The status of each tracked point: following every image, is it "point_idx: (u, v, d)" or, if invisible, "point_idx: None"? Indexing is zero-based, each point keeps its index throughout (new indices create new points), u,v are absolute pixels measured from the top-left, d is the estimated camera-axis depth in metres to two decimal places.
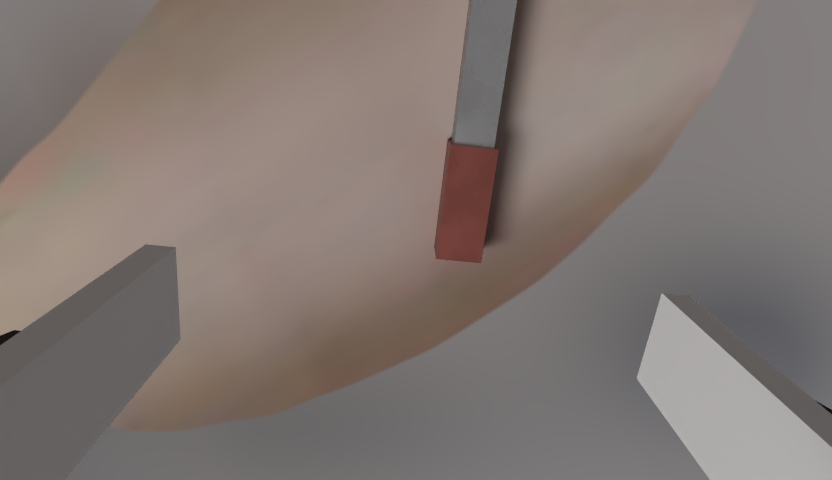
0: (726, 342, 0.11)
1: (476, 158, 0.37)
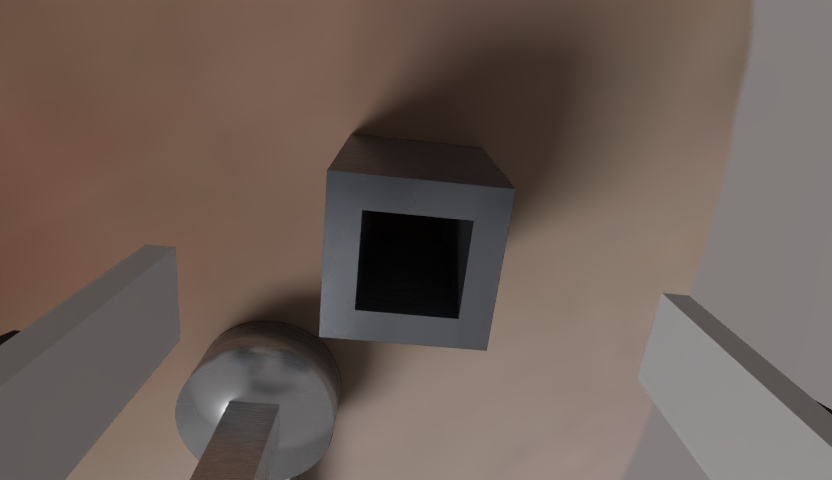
0: (726, 342, 0.11)
1: None
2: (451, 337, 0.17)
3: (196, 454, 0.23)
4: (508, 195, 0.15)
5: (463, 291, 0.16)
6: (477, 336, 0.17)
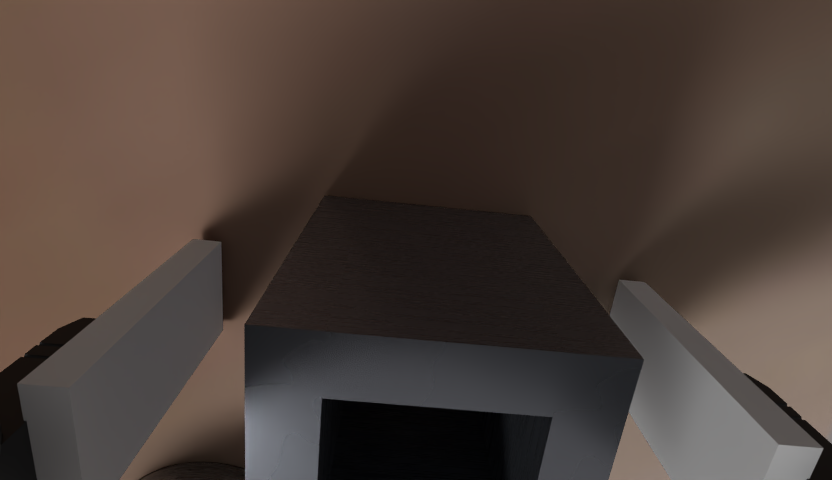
0: (671, 323, 0.12)
1: None
2: None
3: None
4: (627, 370, 0.07)
5: None
6: None
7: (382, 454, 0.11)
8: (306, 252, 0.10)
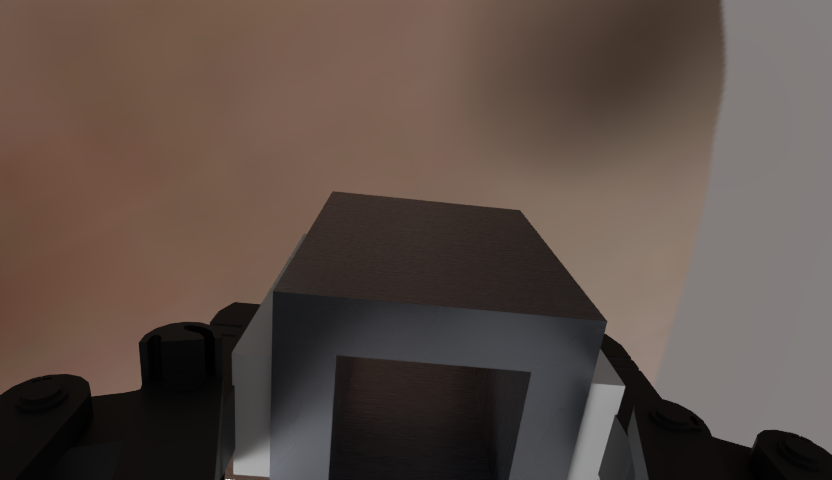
0: None
1: None
2: None
3: None
4: (593, 331, 0.09)
5: (509, 479, 0.10)
6: None
7: (385, 420, 0.12)
8: (319, 237, 0.11)
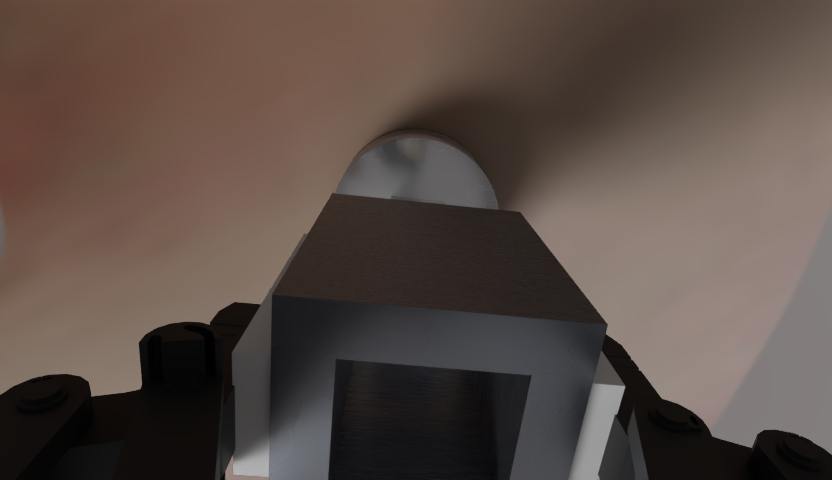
0: None
1: None
2: None
3: None
4: (594, 334, 0.09)
5: None
6: None
7: (385, 422, 0.12)
8: (319, 240, 0.11)
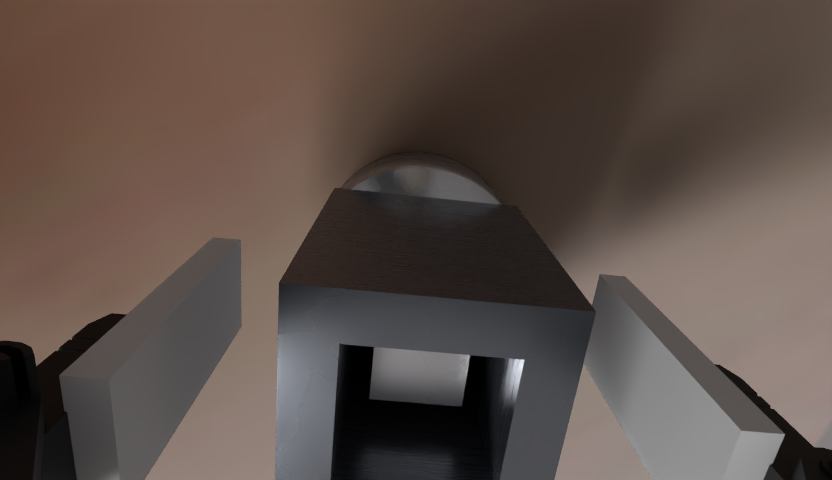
0: (647, 316, 0.12)
1: None
2: None
3: None
4: (583, 321, 0.09)
5: (503, 462, 0.10)
6: None
7: (386, 408, 0.13)
8: (322, 232, 0.11)
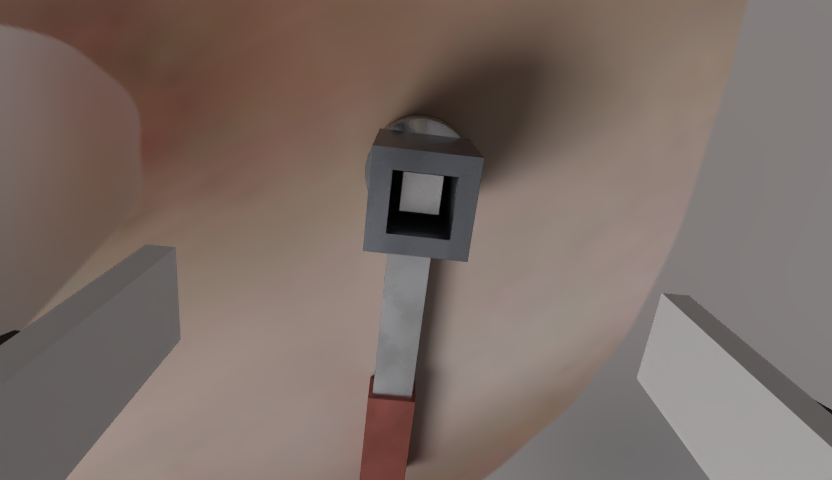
0: (726, 342, 0.11)
1: (393, 409, 0.39)
2: (445, 252, 0.27)
3: None
4: (479, 161, 0.25)
5: (453, 222, 0.26)
6: (461, 252, 0.27)
7: (405, 220, 0.29)
8: (381, 138, 0.28)
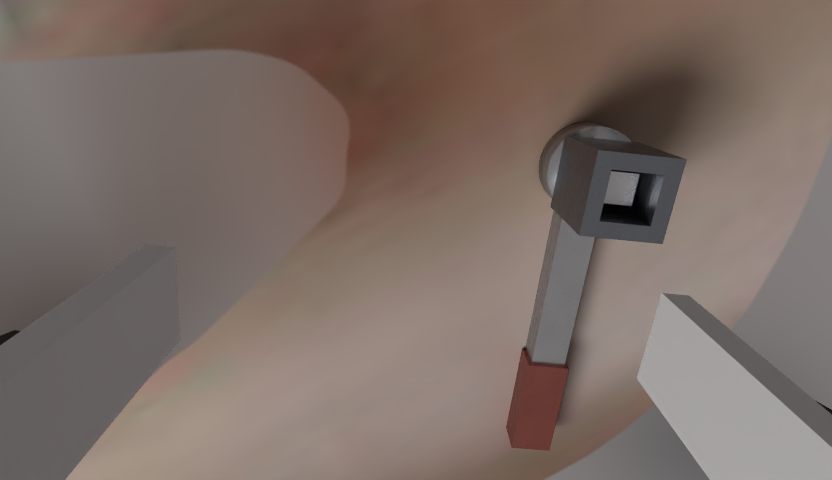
0: (726, 342, 0.11)
1: (549, 375, 0.45)
2: (645, 236, 0.33)
3: None
4: (682, 162, 0.31)
5: (654, 211, 0.33)
6: (658, 236, 0.33)
7: None
8: (587, 143, 0.34)
